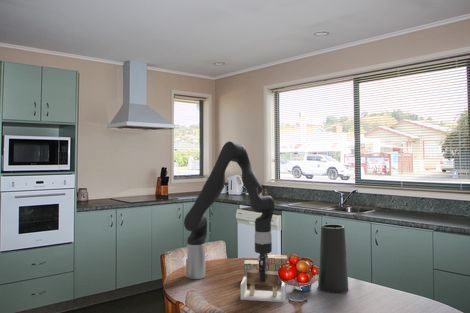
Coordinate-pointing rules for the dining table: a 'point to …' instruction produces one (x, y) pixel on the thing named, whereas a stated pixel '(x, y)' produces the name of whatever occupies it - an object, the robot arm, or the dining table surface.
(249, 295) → the peg stand
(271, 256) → the stack of blocks
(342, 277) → the vase
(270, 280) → the plank
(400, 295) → the dining table surface
